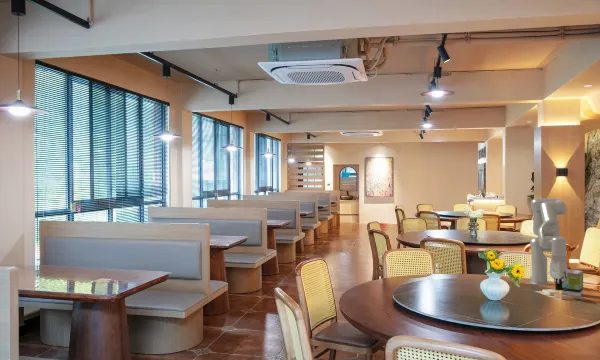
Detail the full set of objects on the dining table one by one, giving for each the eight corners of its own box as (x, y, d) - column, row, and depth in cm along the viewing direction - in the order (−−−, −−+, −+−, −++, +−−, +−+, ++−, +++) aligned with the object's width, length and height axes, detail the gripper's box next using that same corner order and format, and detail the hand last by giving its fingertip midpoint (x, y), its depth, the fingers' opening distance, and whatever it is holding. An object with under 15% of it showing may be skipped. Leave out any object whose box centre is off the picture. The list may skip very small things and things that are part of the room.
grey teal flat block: (542, 289, 278) (549, 291, 271) (551, 289, 279) (559, 291, 272) (542, 292, 278) (549, 295, 271) (551, 292, 278) (559, 295, 271)
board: (534, 293, 282) (534, 291, 282) (551, 293, 283) (551, 291, 283) (557, 301, 260) (557, 299, 260) (575, 301, 261) (575, 299, 261)
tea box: (580, 298, 268) (580, 273, 269) (561, 296, 274) (561, 271, 275) (583, 294, 280) (583, 270, 281) (564, 292, 286) (564, 268, 287)
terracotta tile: (553, 293, 267) (561, 296, 260) (563, 293, 268) (571, 296, 261) (553, 296, 267) (561, 299, 260) (563, 296, 268) (571, 299, 261)
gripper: (544, 256, 275) (544, 287, 274) (561, 260, 260) (561, 292, 259) (556, 256, 275) (556, 287, 275) (573, 260, 260) (573, 292, 260)
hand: (558, 289), depth 267 cm, fingers closed
